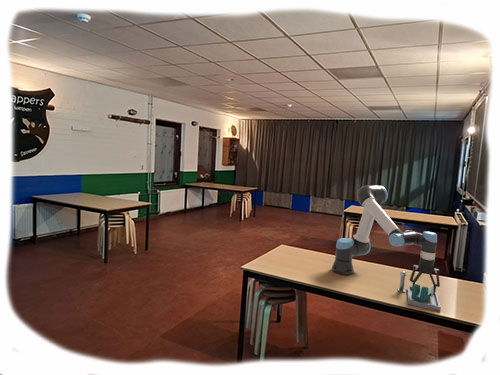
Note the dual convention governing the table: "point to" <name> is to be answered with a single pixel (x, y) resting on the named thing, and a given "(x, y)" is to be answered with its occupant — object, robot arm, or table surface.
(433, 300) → the bin
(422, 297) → the bracket
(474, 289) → the table surface
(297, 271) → the table surface
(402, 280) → the ball stud
